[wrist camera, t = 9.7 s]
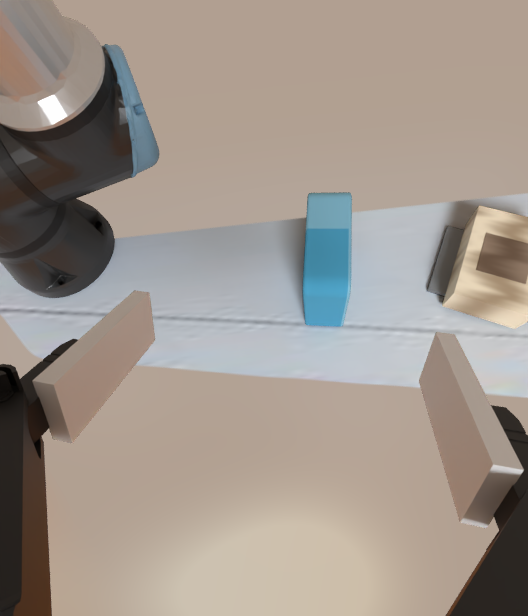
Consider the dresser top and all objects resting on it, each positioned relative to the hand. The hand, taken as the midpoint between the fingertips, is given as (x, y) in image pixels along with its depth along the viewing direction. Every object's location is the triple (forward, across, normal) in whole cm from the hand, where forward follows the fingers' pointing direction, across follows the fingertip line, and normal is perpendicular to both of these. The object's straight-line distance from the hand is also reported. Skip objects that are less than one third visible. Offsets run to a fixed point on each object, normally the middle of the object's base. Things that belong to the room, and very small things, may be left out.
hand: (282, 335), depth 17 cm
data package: (+29, +2, -11) cm, 31 cm away
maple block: (+25, +20, -10) cm, 33 cm away
